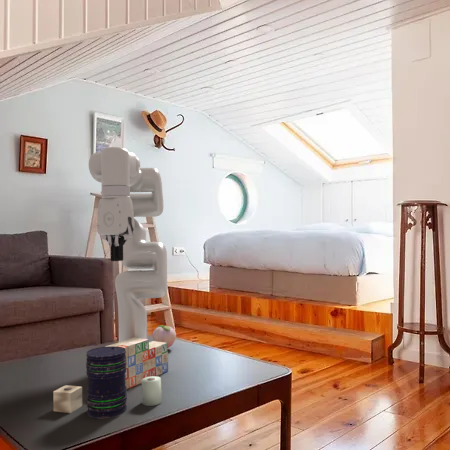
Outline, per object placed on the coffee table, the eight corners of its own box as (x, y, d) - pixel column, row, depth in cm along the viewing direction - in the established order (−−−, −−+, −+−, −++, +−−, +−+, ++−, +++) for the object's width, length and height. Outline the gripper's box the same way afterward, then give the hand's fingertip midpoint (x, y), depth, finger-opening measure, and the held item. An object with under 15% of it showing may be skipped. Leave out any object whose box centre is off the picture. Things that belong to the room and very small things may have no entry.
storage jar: (112, 420, 111) (111, 357, 111) (78, 415, 114) (77, 354, 114) (134, 405, 120) (133, 347, 120) (102, 401, 123) (101, 345, 124)
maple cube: (53, 411, 117) (53, 391, 118) (65, 404, 122) (65, 384, 122) (70, 413, 116) (70, 392, 116) (82, 406, 121) (82, 386, 121)
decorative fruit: (181, 349, 177) (180, 322, 177) (164, 353, 171) (163, 326, 171) (165, 345, 183) (165, 320, 183) (148, 349, 177) (148, 323, 177)
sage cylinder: (138, 404, 121) (137, 380, 121) (150, 397, 125) (149, 375, 126) (154, 406, 119) (153, 382, 119) (165, 400, 123) (164, 377, 123)
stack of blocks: (153, 369, 152) (152, 331, 153) (168, 371, 149) (168, 333, 149) (105, 388, 134) (104, 345, 134) (121, 392, 131) (120, 348, 131)
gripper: (86, 194, 128) (87, 261, 127) (125, 190, 119) (126, 262, 119) (107, 195, 134) (108, 259, 134) (145, 192, 126) (147, 260, 125)
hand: (117, 260), depth 126 cm, fingers closed
